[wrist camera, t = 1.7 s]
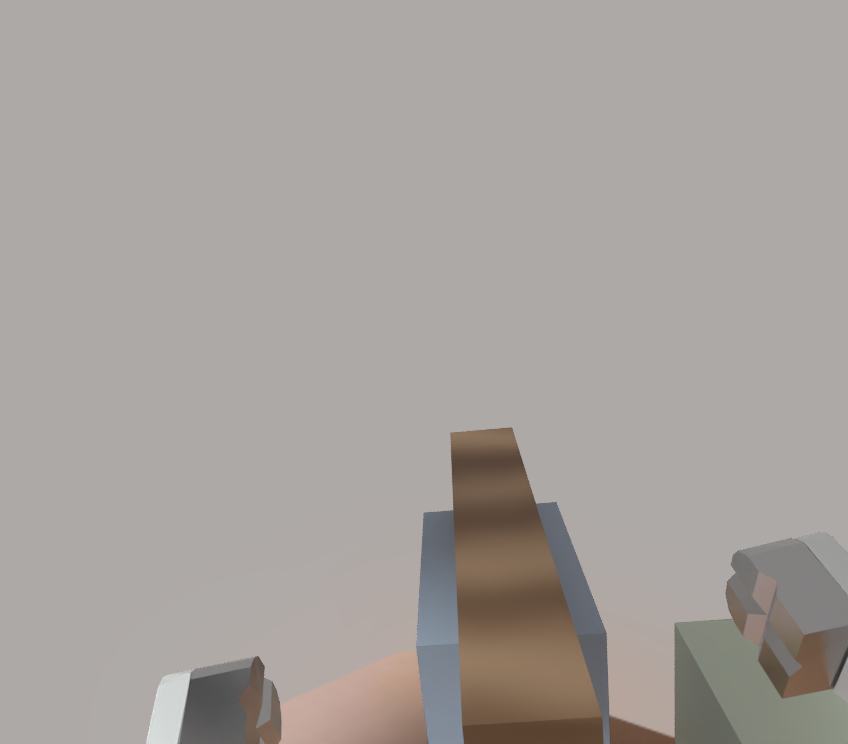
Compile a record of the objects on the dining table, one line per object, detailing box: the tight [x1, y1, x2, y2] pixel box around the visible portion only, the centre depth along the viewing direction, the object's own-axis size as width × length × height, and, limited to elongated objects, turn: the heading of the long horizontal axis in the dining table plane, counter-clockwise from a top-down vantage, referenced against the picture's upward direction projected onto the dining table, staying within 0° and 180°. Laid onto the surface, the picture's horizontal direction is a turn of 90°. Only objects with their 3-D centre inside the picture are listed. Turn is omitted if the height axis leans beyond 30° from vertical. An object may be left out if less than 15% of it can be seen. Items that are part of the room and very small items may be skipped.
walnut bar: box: [451, 428, 603, 744], centre depth 30 cm, size 24×4×4 cm, turn 178°
